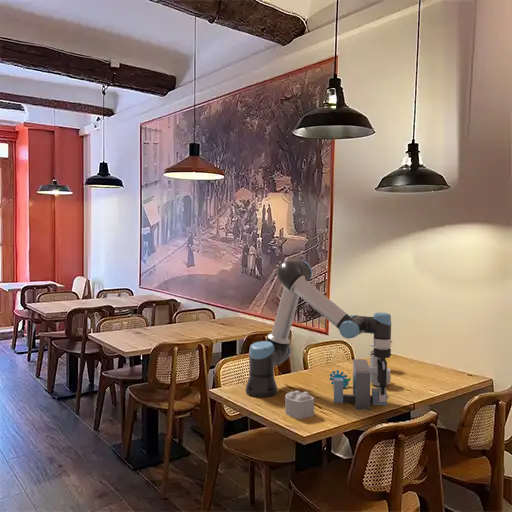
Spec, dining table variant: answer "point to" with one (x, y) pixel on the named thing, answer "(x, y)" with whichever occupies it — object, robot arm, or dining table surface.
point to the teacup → (374, 376)
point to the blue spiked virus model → (345, 381)
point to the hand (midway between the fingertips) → (381, 399)
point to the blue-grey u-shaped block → (350, 398)
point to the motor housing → (361, 384)
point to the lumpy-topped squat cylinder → (299, 405)
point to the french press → (373, 359)
